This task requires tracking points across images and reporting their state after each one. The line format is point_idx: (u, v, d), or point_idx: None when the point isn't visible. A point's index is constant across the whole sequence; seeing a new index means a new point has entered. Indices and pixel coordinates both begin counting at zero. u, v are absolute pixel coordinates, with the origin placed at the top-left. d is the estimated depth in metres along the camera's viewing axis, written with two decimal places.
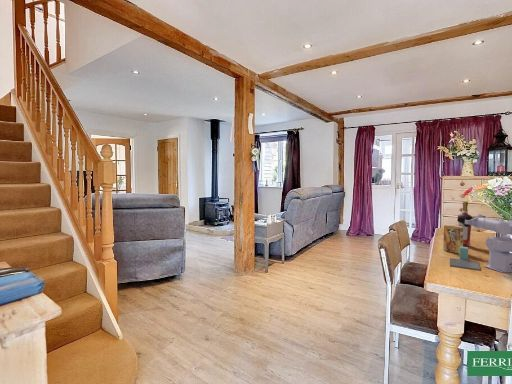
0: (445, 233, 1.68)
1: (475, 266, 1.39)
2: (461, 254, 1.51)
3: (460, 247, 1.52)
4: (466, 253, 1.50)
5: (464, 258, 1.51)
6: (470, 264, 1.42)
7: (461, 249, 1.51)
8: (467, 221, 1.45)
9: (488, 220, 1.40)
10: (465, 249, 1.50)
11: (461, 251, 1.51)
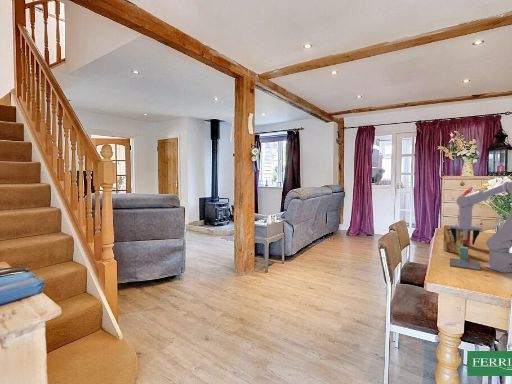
0: (445, 233, 1.68)
1: (475, 266, 1.39)
2: (461, 254, 1.51)
3: (460, 247, 1.52)
4: (466, 253, 1.50)
5: (464, 258, 1.51)
6: (470, 264, 1.42)
7: (461, 249, 1.51)
8: (448, 226, 1.56)
9: None
10: (465, 249, 1.50)
11: (461, 251, 1.51)
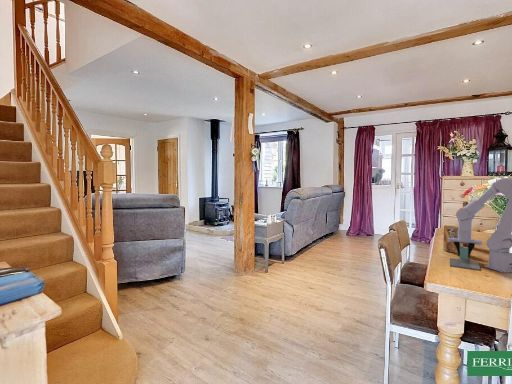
0: (445, 233, 1.68)
1: (475, 266, 1.39)
2: (461, 254, 1.51)
3: (460, 247, 1.52)
4: (466, 253, 1.50)
5: (464, 258, 1.51)
6: (470, 264, 1.42)
7: (461, 249, 1.51)
8: (448, 238, 1.56)
9: (458, 228, 1.53)
10: (465, 249, 1.50)
11: (461, 251, 1.51)
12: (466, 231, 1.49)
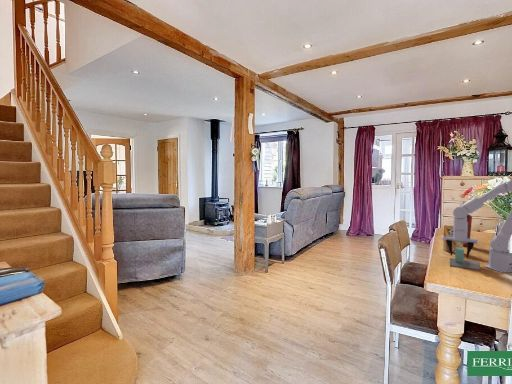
0: (445, 233, 1.68)
1: (475, 266, 1.39)
2: (457, 255, 1.47)
3: (455, 248, 1.48)
4: (462, 254, 1.46)
5: (459, 259, 1.46)
6: (470, 264, 1.42)
7: (456, 250, 1.47)
8: (443, 237, 1.51)
9: (454, 227, 1.47)
10: (460, 250, 1.46)
11: (456, 252, 1.47)
12: (464, 229, 1.44)
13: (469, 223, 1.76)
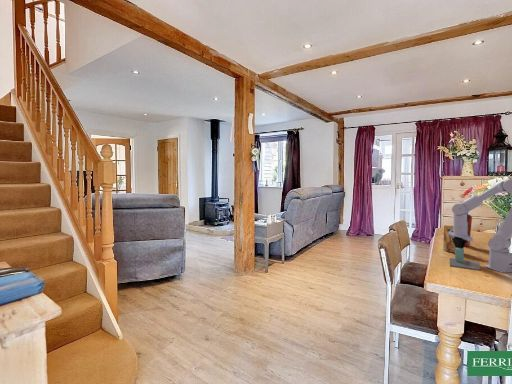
0: (445, 233, 1.68)
1: (475, 266, 1.39)
2: (457, 255, 1.47)
3: (455, 248, 1.48)
4: (462, 254, 1.46)
5: (459, 259, 1.46)
6: (470, 264, 1.42)
7: (456, 250, 1.47)
8: None
9: None
10: (460, 250, 1.46)
11: (456, 252, 1.47)
12: (463, 226, 1.47)
13: (469, 223, 1.76)
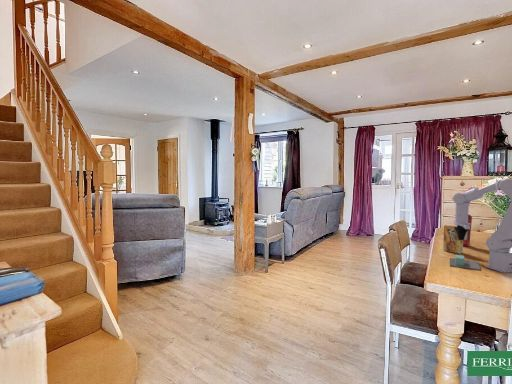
0: (445, 233, 1.68)
1: (475, 266, 1.39)
2: None
3: (455, 262, 1.42)
4: None
5: None
6: (470, 264, 1.42)
7: None
8: None
9: (455, 212, 1.56)
10: None
11: None
12: (463, 214, 1.51)
13: None
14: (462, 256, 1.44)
